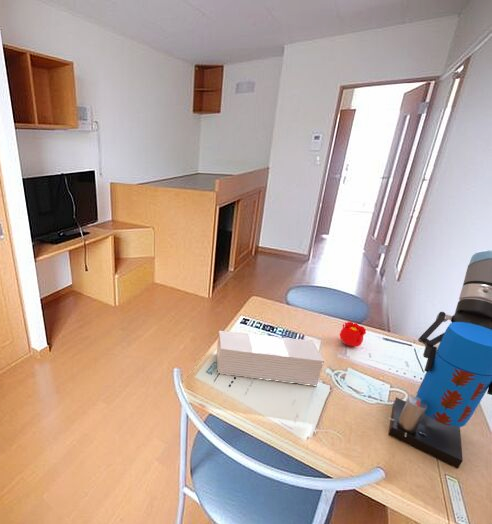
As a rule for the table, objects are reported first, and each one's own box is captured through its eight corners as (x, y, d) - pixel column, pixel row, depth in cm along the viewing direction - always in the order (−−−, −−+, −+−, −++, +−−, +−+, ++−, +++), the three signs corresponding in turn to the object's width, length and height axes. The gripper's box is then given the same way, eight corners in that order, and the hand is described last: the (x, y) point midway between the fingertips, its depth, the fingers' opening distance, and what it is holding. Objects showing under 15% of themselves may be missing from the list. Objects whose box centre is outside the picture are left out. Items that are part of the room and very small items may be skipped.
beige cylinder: (397, 417, 86) (408, 392, 82) (415, 425, 84) (427, 399, 80) (397, 427, 83) (408, 402, 80) (416, 435, 81) (429, 409, 77)
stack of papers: (217, 373, 106) (220, 348, 102) (216, 354, 116) (219, 330, 111) (316, 387, 100) (324, 361, 96) (306, 365, 110) (313, 340, 106)
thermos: (418, 388, 90) (452, 316, 80) (469, 412, 82) (513, 335, 73) (409, 408, 83) (444, 332, 74) (463, 435, 76) (510, 354, 66)
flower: (362, 343, 122) (368, 326, 119) (358, 352, 117) (364, 335, 114) (340, 335, 127) (345, 319, 124) (335, 343, 122) (340, 327, 119)
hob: (455, 431, 85) (460, 423, 84) (458, 472, 75) (463, 463, 74) (388, 402, 95) (391, 394, 93) (382, 435, 84) (386, 427, 83)
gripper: (424, 285, 85) (401, 357, 81) (555, 315, 71) (537, 405, 66) (418, 295, 91) (396, 363, 86) (538, 325, 77) (521, 408, 72)
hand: (457, 381), depth 76 cm, fingers closed on thermos, 11 cm apart
